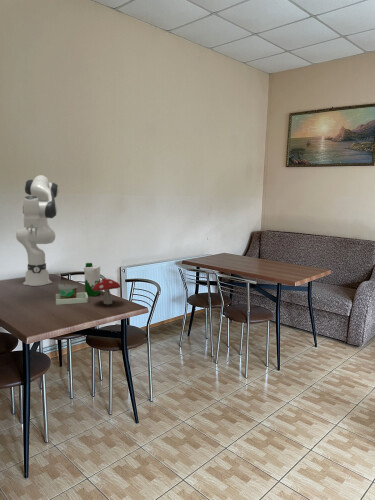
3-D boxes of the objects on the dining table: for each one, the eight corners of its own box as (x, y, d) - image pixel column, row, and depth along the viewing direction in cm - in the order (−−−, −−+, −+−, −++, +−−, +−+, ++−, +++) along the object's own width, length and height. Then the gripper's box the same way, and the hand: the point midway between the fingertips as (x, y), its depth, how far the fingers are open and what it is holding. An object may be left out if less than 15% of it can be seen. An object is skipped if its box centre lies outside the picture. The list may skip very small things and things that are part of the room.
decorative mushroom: (88, 307, 216) (88, 281, 214) (97, 299, 232) (97, 275, 230) (116, 308, 215) (116, 282, 213) (123, 300, 231) (123, 276, 229)
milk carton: (89, 292, 247) (88, 261, 244) (102, 293, 246) (101, 262, 243) (82, 295, 239) (82, 264, 236) (96, 297, 237) (95, 265, 234)
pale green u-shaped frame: (55, 298, 231) (55, 294, 231) (86, 296, 237) (86, 292, 237) (55, 304, 219) (55, 299, 219) (88, 302, 225) (88, 297, 225)
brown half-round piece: (54, 301, 226) (53, 284, 225) (60, 298, 232) (60, 282, 231) (71, 303, 223) (71, 286, 221) (78, 300, 228) (77, 284, 227)
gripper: (37, 225, 214) (38, 250, 216) (38, 222, 233) (39, 245, 235) (24, 225, 212) (25, 250, 214) (27, 222, 231) (28, 245, 233)
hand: (32, 247), depth 225 cm, fingers closed
